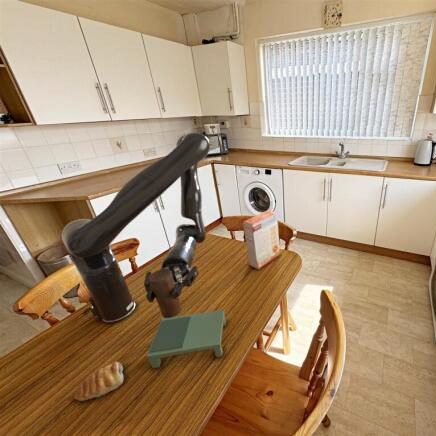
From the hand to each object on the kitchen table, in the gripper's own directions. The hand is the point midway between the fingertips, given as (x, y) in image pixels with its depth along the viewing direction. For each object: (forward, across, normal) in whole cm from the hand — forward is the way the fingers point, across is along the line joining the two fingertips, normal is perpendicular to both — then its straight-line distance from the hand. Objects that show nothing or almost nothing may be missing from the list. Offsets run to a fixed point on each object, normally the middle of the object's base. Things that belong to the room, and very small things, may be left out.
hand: (162, 297), depth 59 cm
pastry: (+7, -16, +19) cm, 25 cm away
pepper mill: (-3, 0, +7) cm, 7 cm away
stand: (-1, +3, +19) cm, 19 cm away
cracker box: (-38, +26, +19) cm, 50 cm away
